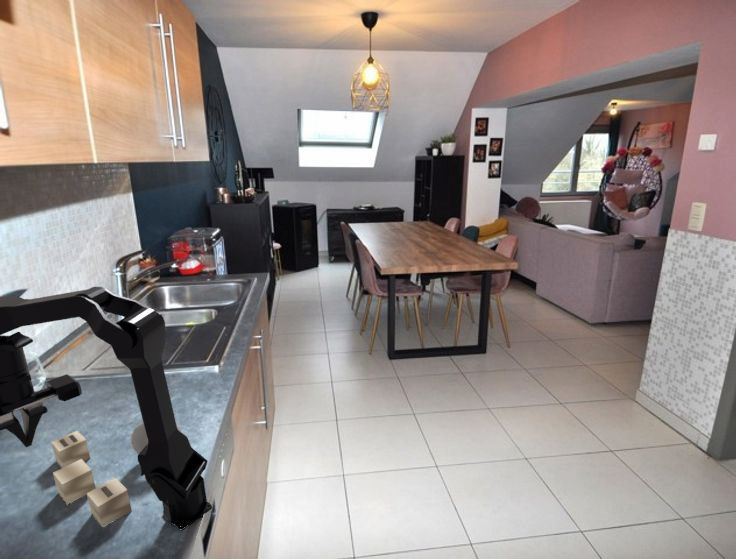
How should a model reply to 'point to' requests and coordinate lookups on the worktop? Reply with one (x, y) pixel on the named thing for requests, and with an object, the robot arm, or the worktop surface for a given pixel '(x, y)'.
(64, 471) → the plain block
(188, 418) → the worktop surface
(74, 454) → the two stroke block
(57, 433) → the worktop surface
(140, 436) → the donut
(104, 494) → the one stroke block
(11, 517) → the worktop surface
